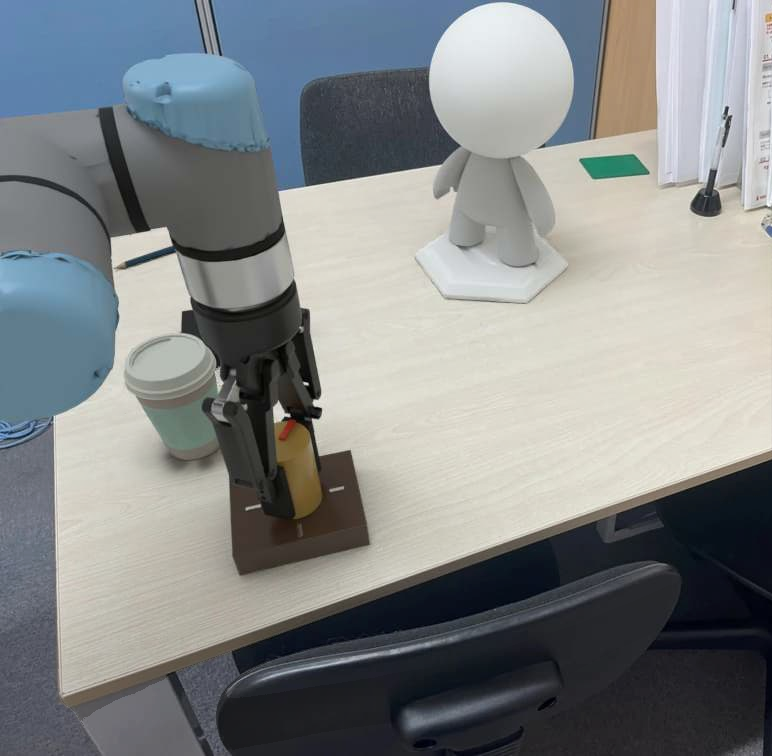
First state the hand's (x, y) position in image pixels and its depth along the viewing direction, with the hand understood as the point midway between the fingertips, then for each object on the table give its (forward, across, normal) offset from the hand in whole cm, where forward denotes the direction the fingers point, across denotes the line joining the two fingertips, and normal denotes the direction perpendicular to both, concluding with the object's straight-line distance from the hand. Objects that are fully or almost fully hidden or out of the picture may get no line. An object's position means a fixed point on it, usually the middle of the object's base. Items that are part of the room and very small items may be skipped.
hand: (294, 490), depth 67 cm
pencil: (+5, -40, -40) cm, 57 cm away
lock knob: (+1, 0, 0) cm, 1 cm away
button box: (+4, -24, -20) cm, 32 cm away
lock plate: (+4, 0, 0) cm, 4 cm away
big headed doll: (+4, -51, +7) cm, 51 cm away
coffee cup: (+4, -7, -15) cm, 17 cm away
